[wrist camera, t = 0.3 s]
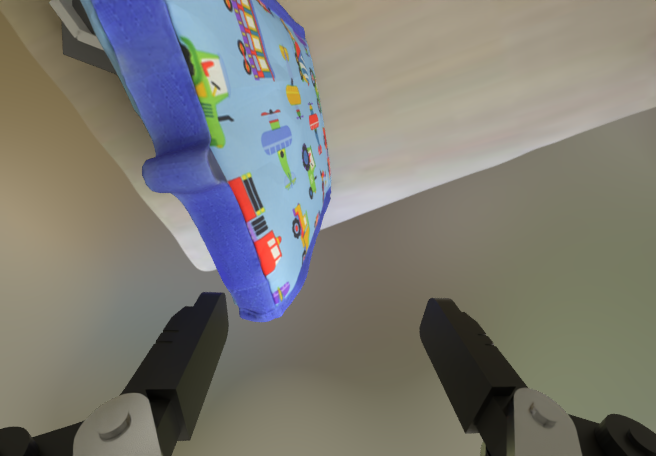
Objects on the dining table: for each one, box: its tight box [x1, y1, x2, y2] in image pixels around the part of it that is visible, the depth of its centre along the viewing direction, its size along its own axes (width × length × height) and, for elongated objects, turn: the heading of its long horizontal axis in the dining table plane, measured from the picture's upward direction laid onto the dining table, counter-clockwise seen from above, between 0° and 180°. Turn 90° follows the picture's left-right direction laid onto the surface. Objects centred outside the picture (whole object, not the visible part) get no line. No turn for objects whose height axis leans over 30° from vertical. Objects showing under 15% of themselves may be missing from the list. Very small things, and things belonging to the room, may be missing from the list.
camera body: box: [49, 0, 117, 74], centre depth 27 cm, size 12×8×7 cm, turn 159°
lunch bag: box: [80, 0, 331, 322], centre depth 24 cm, size 22×14×29 cm, turn 10°
